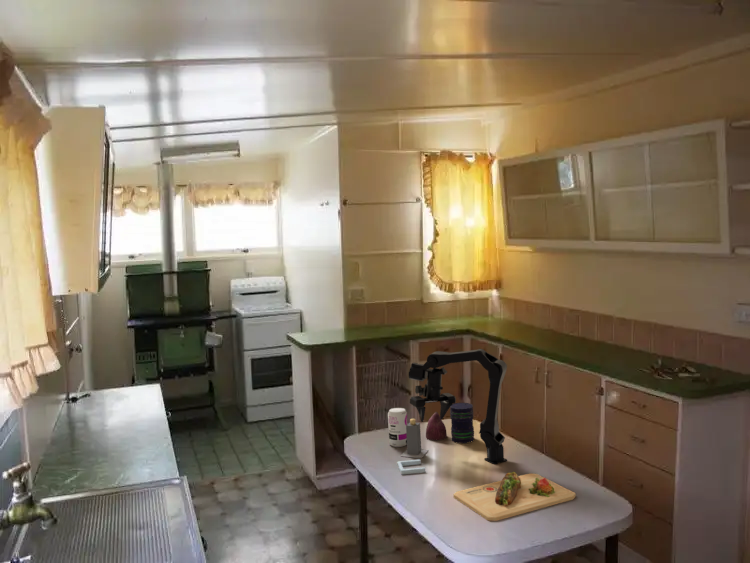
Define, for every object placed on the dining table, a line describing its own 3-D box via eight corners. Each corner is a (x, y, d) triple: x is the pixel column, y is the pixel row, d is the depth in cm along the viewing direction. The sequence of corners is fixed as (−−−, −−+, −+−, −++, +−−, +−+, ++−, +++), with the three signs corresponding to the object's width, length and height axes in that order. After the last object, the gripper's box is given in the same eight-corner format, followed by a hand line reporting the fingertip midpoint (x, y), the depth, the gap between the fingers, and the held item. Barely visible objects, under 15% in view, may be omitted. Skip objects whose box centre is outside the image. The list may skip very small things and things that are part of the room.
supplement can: (408, 440, 283) (407, 407, 282) (407, 447, 275) (406, 412, 274) (390, 441, 284) (388, 407, 283) (388, 447, 276) (386, 412, 275)
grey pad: (428, 450, 270) (428, 450, 270) (421, 458, 261) (421, 457, 261) (407, 449, 273) (407, 448, 273) (400, 456, 265) (400, 455, 265)
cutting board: (533, 476, 238) (533, 456, 237) (578, 499, 217) (578, 477, 216) (451, 497, 224) (450, 476, 223) (490, 524, 202) (489, 500, 202)
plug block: (421, 451, 268) (419, 418, 267) (418, 455, 264) (416, 421, 263) (411, 450, 270) (409, 417, 269) (407, 454, 266) (405, 420, 265)
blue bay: (420, 463, 256) (420, 459, 256) (425, 472, 246) (425, 468, 246) (397, 465, 255) (397, 461, 255) (401, 474, 245) (401, 470, 245)
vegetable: (446, 446, 283) (450, 418, 278) (425, 444, 283) (428, 417, 278) (445, 434, 292) (448, 407, 287) (424, 432, 292) (427, 405, 287)
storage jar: (464, 445, 274) (462, 410, 273) (446, 440, 282) (445, 406, 280) (479, 438, 281) (477, 404, 280) (461, 434, 288) (460, 401, 287)
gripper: (443, 375, 274) (440, 411, 276) (404, 379, 265) (401, 416, 267) (457, 383, 264) (455, 420, 266) (417, 387, 256) (415, 425, 258)
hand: (431, 420), depth 265 cm, fingers open, 9 cm apart
